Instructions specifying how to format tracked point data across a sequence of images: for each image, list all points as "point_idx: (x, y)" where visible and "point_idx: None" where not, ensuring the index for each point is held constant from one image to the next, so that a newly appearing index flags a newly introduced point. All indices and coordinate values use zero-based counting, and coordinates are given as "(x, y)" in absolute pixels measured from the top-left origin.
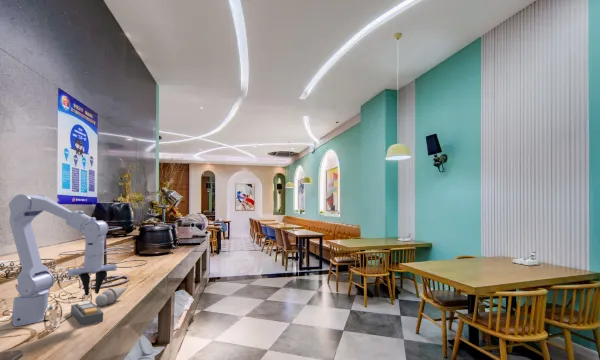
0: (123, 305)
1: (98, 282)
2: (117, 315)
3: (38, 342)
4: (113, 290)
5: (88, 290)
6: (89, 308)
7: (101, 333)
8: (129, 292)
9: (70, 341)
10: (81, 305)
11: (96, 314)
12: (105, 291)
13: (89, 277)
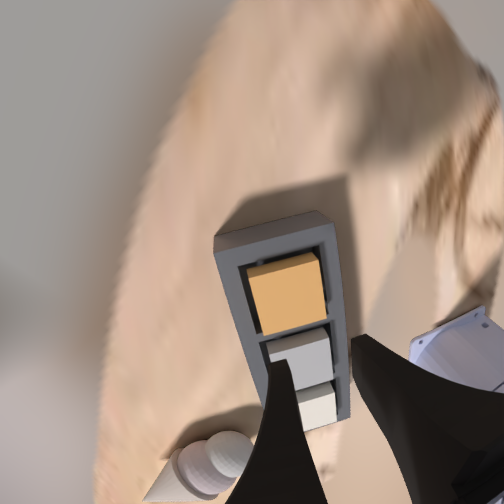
0: (140, 413)
1: (304, 439)
2: (145, 301)
3: (448, 101)
4: (186, 487)
5: (374, 357)
6: (295, 325)
7: (221, 49)
8: None
9: (351, 29)
10: (322, 392)
11: (253, 242)
12: (219, 486)
13: (476, 441)
